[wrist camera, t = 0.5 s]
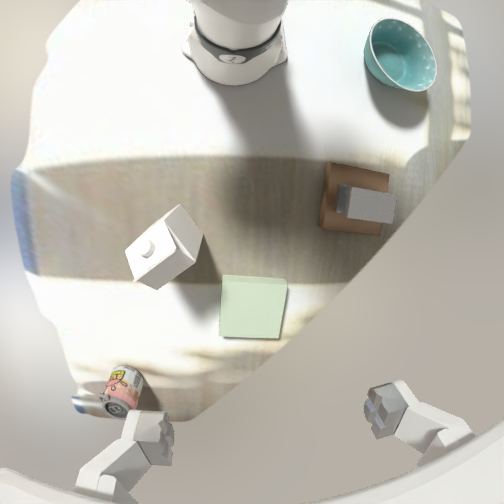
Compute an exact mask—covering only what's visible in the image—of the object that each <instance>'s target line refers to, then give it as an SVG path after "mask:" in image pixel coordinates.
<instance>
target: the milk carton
mask: <svg viewBox="0 0 504 504" xmlns="http://www.w3.org/2000/svg"><path fill="white" fill-rule="evenodd" d="M202 237H203V233H202V232H201V231H200V229H199V228H198V227H197V225H196V224H195V223H194V221H193V220H192V219H191V217H190V216H189V215H188V213H187V212H186V211H185V209H184V208H183V207H182V205H181V204H179V205H177V206H176V207H175V208H173V209H172V210H171V211H169V212H168V213H167V214H165V215H164V216H163V217H161V218H160V219H159V220H158V221H156V222H155V223H154V224H153V225H151V226H150V227H149V228H148V229H147V230H146V231H145V232H144V233H143V234H142V235H141V236H140V237H139V238H138V239H137V240H136V241H134V242H133V243H132V244H131V245H130V246H129V247H128V248H127V249H126V251H125V252H126V256H127V258H128V261H129V264H130V267H131V270H132V273H133V276H134V278H135V279H134V280H133V283H134V282H135V281H139V282H141V283H143V284H145V285H147V286H149V287H152V288H154V289H156V290H158V289H159V288H161V287H162V286H163V285H165V284H166V283H168V282H169V281H170V280H172V279H173V278H175V277H176V276H177V275H179V274H180V273H182V272H183V271H184V270H186V269H187V268H189V267H190V266H192V265H193V264H194V263H196V260H197V256H198V252H199V248H200V245H201V241H202Z"/></svg>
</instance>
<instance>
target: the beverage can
mask: <svg viewBox="0 0 504 504" xmlns="http://www.w3.org/2000/svg"><path fill="white" fill-rule="evenodd" d="M142 387H143V378H142V376H141V374H140V373H139V372H138V371H137V370H136V369H134V368H132V367H129V366H118V367H116V368H115V369H114V370H113V372H112V374H111V376H110V378H109V381H108V383H107V385H106V388H105V390H104V393H103V394H102V393H100V394H99V395H98V396H99V398H100V400H101V401H102V402H103V405H102V407H103V409H104V411H105V412H106V413H107V414H108V415H110V416H111V417H113V418H116V419H119V420H126V418H127V414H128V412H129V411H130V410H136V408H137V405H138V401H139V398H140V394H141V391H142Z"/></svg>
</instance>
